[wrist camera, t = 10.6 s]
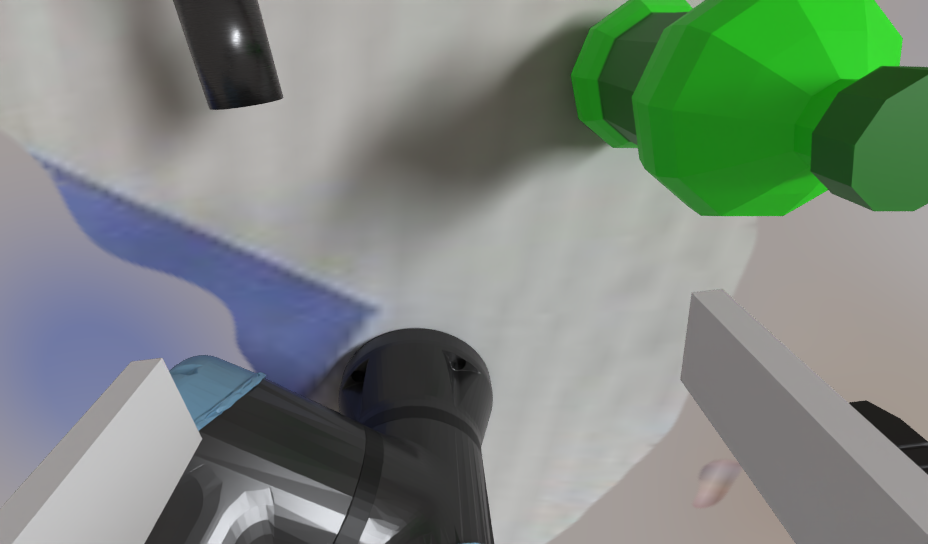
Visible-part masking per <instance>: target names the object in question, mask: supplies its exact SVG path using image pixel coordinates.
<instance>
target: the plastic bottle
mask: <svg viewBox="0 0 928 544" xmlns="http://www.w3.org/2000/svg"><path fill="white" fill-rule="evenodd" d="M902 39H903V38H902V37H901V35H900V34H899V33H898V31H897V30H896V29H895V27H894V26H893V25H892V23H891V22H890V21H889V19H888V18H887V17H886V15H885V14H884V13H883V11H882V10H881V9H880V7H879V6H878V5H877V3H876V2H875V1H874V0H705V1H703V2H702V3H701V4H699V5H698V6H696V7H695V8H692V7H691V6H690V5H689V4H688V3H687V2H686V1H685V0H629V1H627V2H626V3H624V4H623V5H622V6H620V7H619V8H618V9H616V10H615V11H613V12H612V13H611V14H609V15H608V16H607V17H605V18H604V19H602V20H601V21H600V22H598V23H597V24H596V25H594V26H593V27H591V28H590V29H589V32H588V34H587V37H586V39H585V42H584V44H583V46H582V49H581V51H580V54H579V56H578V58H577V61H576V63H575V66H574V68H573V71H572V73H571V80H572V86H573V91H574V97H575V102H576V108H577V113H578V119H579V120H581V121H582V122H583V123H584V124H585V125H586V126H588V127H589V128H590V129H591V130H592V131H593V132H594V133H596V134H597V135H598V136H599V137H600V138H601V139H603V140H604V141H605V142H606V143H607V144H609V145H610V146H612V147H613V148H638V151H639V159H640V161H641V163H642V165H643V166H644V168H645V169H646V170H647V171H648V172H649V173H650V174H651V175H652V176H654V177H655V178H656V179H657V180H658V181H659V182H660V183H662V184H663V185H664V186H665V187H666V188H667V189H669V190H670V191H671V192H672V193H673V194H674V195H675V196H677V197H678V198H679V199H680V200H681V201H682V202H684V203H685V204H686V205H687V206H688V207H690V208H691V209H692V210H694V211H695V212H697V213H698V214H699V215H701V216H784V215H786V214H787V213H789V212H791V211H793V210H794V209H796V208H798V207H800V206H801V205H803V204H805V203H806V202H808V201H810V200H812V199H813V198H815V197H817V196H819V195H820V194H822V193H824V192H826V191H827V190H829V191H830V192H831V193H832V194H834V195H837V196H839V197H841V198H844V199H846V200H849V201H851V202H854V203H856V204H858V205H861V206H863V207H865V208H868V209H870V210H872V211H915V210H917V209H919V208H920V207H922V206H924V205H926V204H928V67H904V66H899V65H900V57H901V48H902Z"/></svg>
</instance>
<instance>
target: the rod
mask: <svg viewBox="0 0 928 544" xmlns="http://www.w3.org/2000/svg"><path fill="white" fill-rule="evenodd" d="M173 2H174V5H175V8H176V11H177V14H178V17H179V20H180V23H181V26H182V29H183V32H184V35H185V38H186V41H187V44H188V47H189V50H190V52H191V55H192V58H193V61H194V64H195V67H196V70H197V73H198V76H199V79H200V82H201V85H202V88H203V91H204V94H205V97H206V100H207V103H208V106H209V109H212V110H220V109H231V108H239V107H246V106H253V105H258V104H264V103H268V102H273V101H276V100H280V99H282V98H283V94H282V91H281V87H280V83H279V79H278V76H277V72H276V68H275V64H274V61H273V57H272V53H271V49H270V46H269V42H268V38H267V34H266V30H265V27H264V23H263V19H262V15H261V12H260V8H259V4H258V0H173Z"/></svg>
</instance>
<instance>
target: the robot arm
mask: <svg viewBox="0 0 928 544" xmlns="http://www.w3.org/2000/svg"><path fill="white" fill-rule="evenodd" d="M266 376H267V375H266V374H264V373H261V372H259V373H254V372H251V371H249V370H246V369H244V368H242V367H239V366H237V365H234V364H232V363H229V362H227V361H225V360H222V359H219V358H217V357H214V356H208V355H200V356H194V357H191V358H188V359H186V360H184V361H182V362H181V363H179V364H177V365H176V366H174V367H173V368H172V369H171V370H170V371H169V370H168V369H167V366H166V364H165V362H164V361H163V359H162V358H157V359H149V360H140V361H133V362H130V364H129V365H128V366H127V367H126V368H125V369H124V370H123V371H122V372H121V374H120V375H119V376H118V377H117V378H116V379H115V380H114V381H113V383H112V384H111V385H110V386H109V387H108V388H107V389H106V390H105V392H104V393H103V394H102V395H101V396H100V397H99V398H98V400H97V401H96V402H95V403H94V404H93V405H92V406H91V407H90V409H89V410H88V411H87V412H86V413H85V414H84V415H83V416H82V417H81V419H80V420H79V421H78V422H77V423H76V424H75V425H74V426H73V428H72V429H71V430H70V431H69V432H68V433H67V434H66V436H65V437H64V438H63V439H62V440H61V441H60V442H59V443H58V444H57V446H56V447H55V448H54V449H53V450H52V451H51V452H50V453H49V454H48V456H47V457H46V458H45V459H44V460H43V461H42V462H41V463H40V465H39V466H38V467H37V468H36V469H35V470H34V471H33V473H32V474H31V475H30V476H29V477H28V478H27V479H26V480H25V481H24V483H23V484H22V485H21V486H20V487H19V488H18V489H17V491H15V493H14V494H13V495H12V496H11V497H10V498H9V500H8V501H7V502H6V503H5V504H4V505H3V506H2V507H1V508H0V544H494V539H493V532H492V525H491V518H490V510H489V503H488V496H487V489H486V482H485V474H484V467H483V460H482V453H481V445H482V442H483V439H484V435H485V432H486V428H487V425H488V421H489V418H490V414H491V410H492V402H493V394H492V387H491V381H490V376H489V372H488V369H487V367H486V365H485V363H484V361H483V360H482V358H481V357H480V356H479V354H478V353H477V352H476V351H475V350H474V349H473V348H472V347H470V346H469V345H468V344H466V343H465V342H463V341H462V340H460V339H458V338H456V337H454V336H452V335H449V334H447V333H443V332H440V331H436V330H430V329H404V330H398V331H394V332H390V333H387V334H384V335H382V336H379V337H377V338H375V339H373V340H371V341H370V342H368V343H367V344H365V345H364V346H363V347H362V348H360V349H359V350H358V351H357V352H356V353H355V354H354V356H353V357H352V358H351V360H350V361H349V363H348V365H347V367H346V369H345V371H344V374H343V378H342V382H341V386H340V391H339V411H340V413H338V412H336V411H334V410H332V409H329V408H327V407H325V406H323V405H321V404H319V403H316V402H314V401H312V400H310V399H308V398H306V397H303V396H301V395H299V394H297V393H295V392H293V391H291V390H288V389H286V388H284V387H282V386H280V385H278V384H276V383H274V382H272V381H270V380H268V379H266V378H265V377H266ZM680 380H681V381H682V383H683V384H684V385H685V387H686V388H687V390H688V391H689V393H690V394H691V395H692V397H693V398H694V400H695V401H696V402H697V404H698V405H699V407H700V408H701V410H702V411H703V412H704V414H705V415H706V417H707V418H708V420H709V421H710V422H711V424H712V425H713V427H714V428H715V429H716V431H717V432H718V434H719V435H720V437H721V438H722V439H723V441H724V442H725V444H726V445H727V446H728V448H729V449H730V451H731V452H732V454H733V455H734V457H735V458H736V459H737V461H738V462H739V464H740V465H741V466H742V468H743V469H744V471H745V472H746V474H747V475H748V476H749V478H750V479H751V481H752V482H753V484H754V485H755V486H756V488H757V489H758V491H759V492H760V494H761V495H762V496H763V498H764V499H765V501H766V502H767V503H768V505H769V506H770V508H771V509H772V511H773V512H774V513H775V515H776V516H777V518H778V519H779V521H780V522H781V523H782V525H783V526H784V528H785V529H786V530H787V532H788V533H789V535H790V536H791V538H792V539H793V540H794V542H795V543H796V544H928V441H926V440H925V439H924V438H923V437H922V436H920V435H919V434H918V433H917V432H916V431H914V430H913V429H912V428H910V426H908V425H907V424H906V423H905V422H904V421H902V420H901V419H900V418H898V417H896V416H894V415H893V414H890V413H888V412H887V411H885V410H883V409H881V408H879V407H877V406H876V405H874V404H872V403H870V402H868V401H858V402H850V403H848V402H847V401H846V400H844V398H842V397H841V396H840V395H839V394H838V393H837V392H836V391H834V389H832V388H831V387H830V386H829V385H828V384H827V383H826V382H825V381H824V380H823V379H821V378H820V377H819V376H818V375H817V374H816V373H815V372H814V371H813V370H811V369H810V368H809V367H808V366H807V365H806V364H805V363H804V362H803V361H801V360H800V359H799V358H798V357H797V356H796V355H795V354H794V353H793V352H792V351H790V350H789V349H788V348H787V347H786V346H785V345H784V344H783V343H781V341H779V340H778V339H777V338H776V337H775V336H774V335H773V334H772V333H771V332H769V331H768V330H767V329H766V328H765V327H764V326H763V325H762V324H761V323H760V322H759V321H757V320H756V319H755V318H754V317H753V316H752V315H751V314H750V313H749V312H747V311H746V310H745V309H744V308H743V307H742V306H741V305H740V304H739V303H737V302H736V301H735V300H734V299H733V298H732V297H731V296H730V295H729V294H728V293H726V292H725V291H724V290H723V289H717V290H709V291H701V292H693V293H692V294H691V302H690V310H689V317H688V325H687V333H686V340H685V348H684V356H683V363H682V371H681V379H680Z"/></svg>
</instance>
